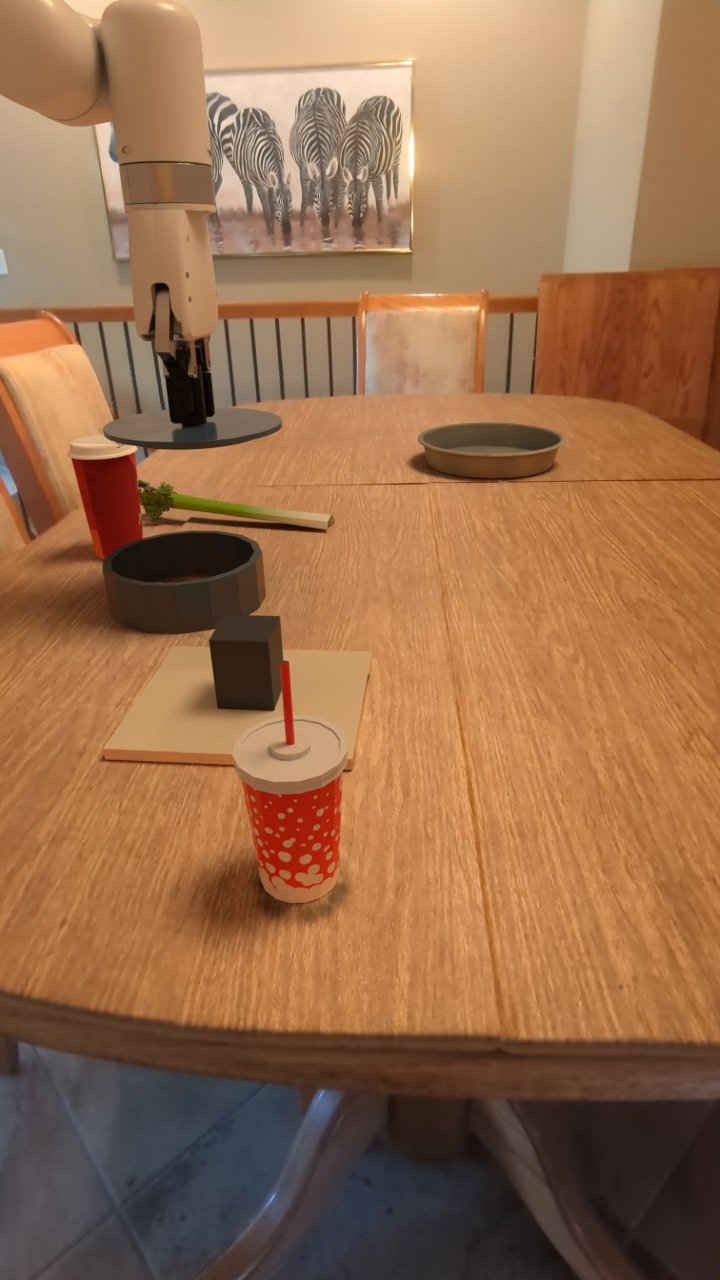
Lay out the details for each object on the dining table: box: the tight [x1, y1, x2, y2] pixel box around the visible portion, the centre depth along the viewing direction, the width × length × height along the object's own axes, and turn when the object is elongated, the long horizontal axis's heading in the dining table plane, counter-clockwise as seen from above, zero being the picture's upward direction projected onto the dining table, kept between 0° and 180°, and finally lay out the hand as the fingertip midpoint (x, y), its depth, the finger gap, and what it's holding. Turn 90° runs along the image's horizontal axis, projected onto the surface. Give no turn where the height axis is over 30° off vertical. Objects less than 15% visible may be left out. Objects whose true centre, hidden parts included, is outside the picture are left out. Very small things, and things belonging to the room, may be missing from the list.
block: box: [208, 614, 284, 711], centre depth 59 cm, size 4×4×6 cm
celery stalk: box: [138, 478, 336, 531], centre depth 101 cm, size 6×7×30 cm
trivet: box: [102, 645, 373, 771], centre depth 60 cm, size 18×16×1 cm
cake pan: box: [417, 421, 566, 479], centre depth 128 cm, size 25×25×4 cm
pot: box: [102, 529, 267, 635], centre depth 77 cm, size 16×16×6 cm
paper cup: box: [66, 433, 144, 560], centre depth 89 cm, size 8×8×14 cm
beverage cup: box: [232, 661, 348, 904], centre depth 41 cm, size 6×6×14 cm
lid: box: [102, 363, 283, 451], centre depth 70 cm, size 17×17×6 cm
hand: (193, 417), depth 71 cm, fingers closed on lid, 2 cm apart
